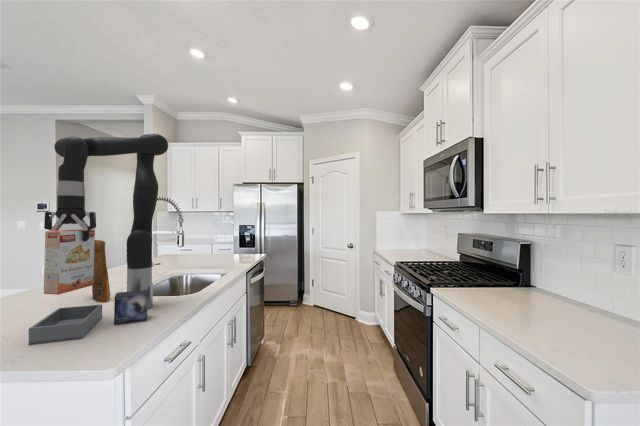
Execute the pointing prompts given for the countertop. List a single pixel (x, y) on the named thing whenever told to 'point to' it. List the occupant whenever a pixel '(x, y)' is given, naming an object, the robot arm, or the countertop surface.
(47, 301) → the countertop surface
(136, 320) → the small box
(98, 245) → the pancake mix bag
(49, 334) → the tray
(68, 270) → the cracker box
